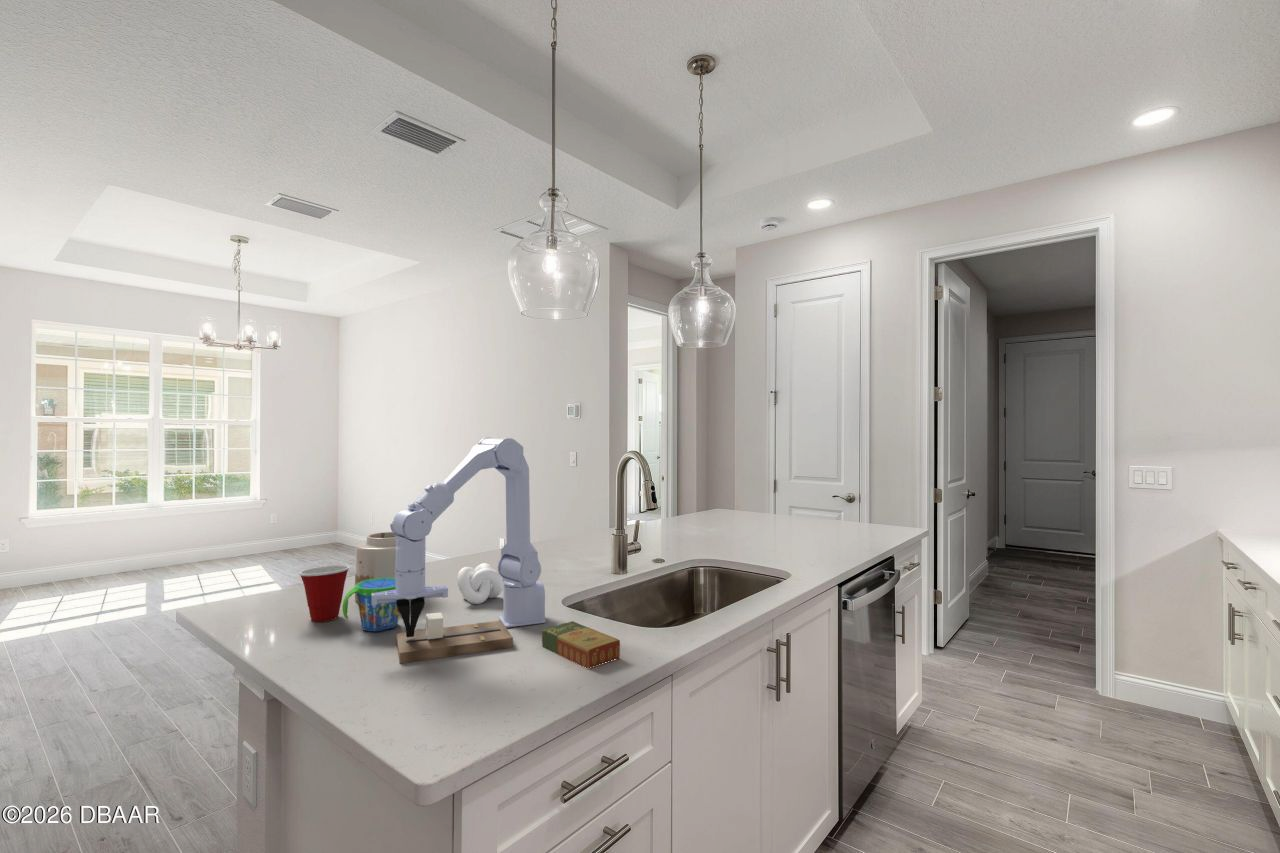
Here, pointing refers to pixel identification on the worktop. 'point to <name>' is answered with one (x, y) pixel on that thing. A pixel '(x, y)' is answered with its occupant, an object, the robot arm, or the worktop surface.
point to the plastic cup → (324, 591)
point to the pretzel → (479, 583)
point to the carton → (581, 644)
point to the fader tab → (434, 625)
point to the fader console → (454, 641)
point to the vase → (375, 558)
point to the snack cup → (370, 614)
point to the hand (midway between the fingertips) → (410, 635)
